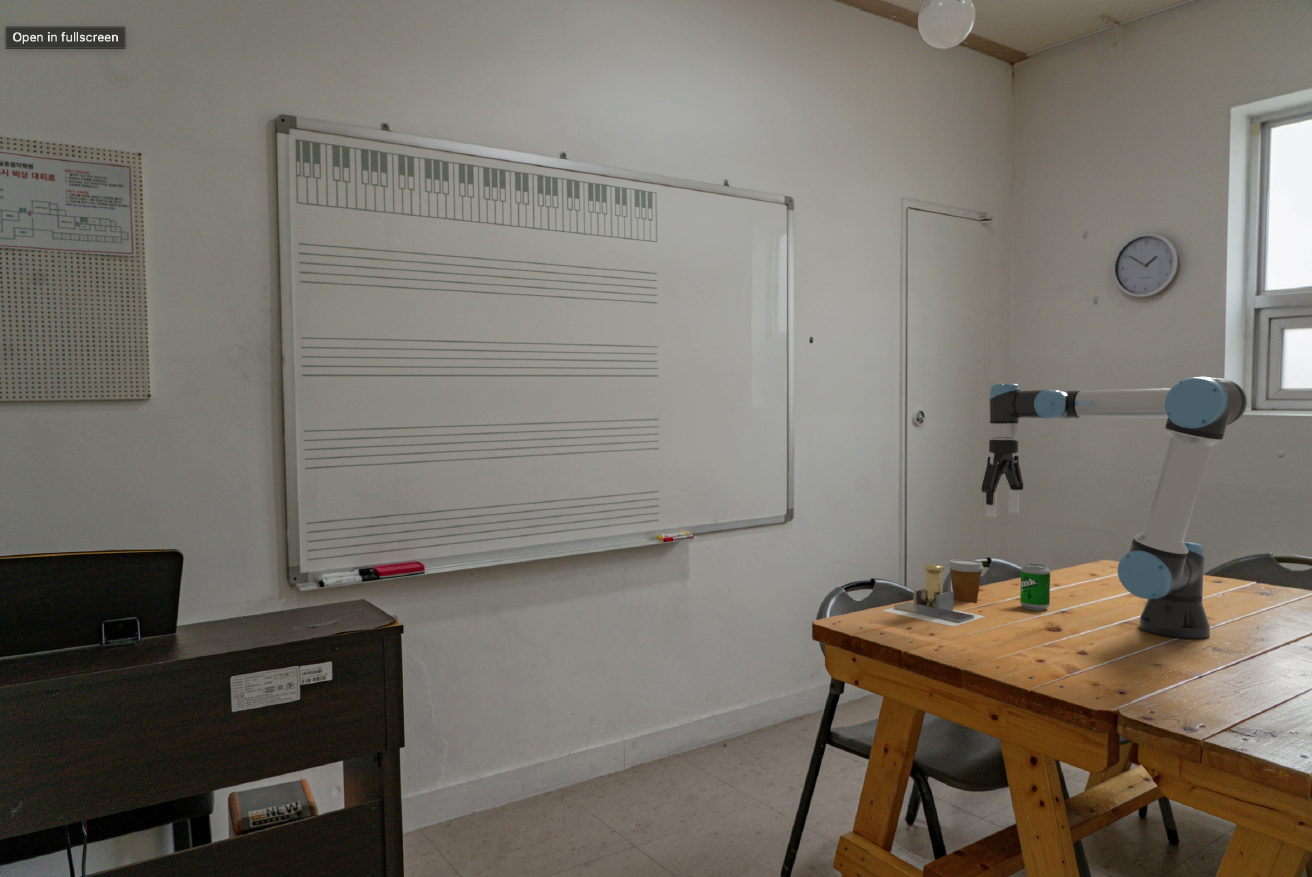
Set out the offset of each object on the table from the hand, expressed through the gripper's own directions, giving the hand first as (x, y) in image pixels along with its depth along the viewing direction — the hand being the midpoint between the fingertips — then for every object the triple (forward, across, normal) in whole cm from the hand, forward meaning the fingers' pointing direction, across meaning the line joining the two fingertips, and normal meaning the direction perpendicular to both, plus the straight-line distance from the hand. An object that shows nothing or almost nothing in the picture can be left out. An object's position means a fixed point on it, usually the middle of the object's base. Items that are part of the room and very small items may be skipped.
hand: (1002, 514), depth 232 cm
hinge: (+25, +25, -7) cm, 36 cm away
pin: (+25, +25, -7) cm, 36 cm away
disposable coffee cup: (+26, +2, -10) cm, 28 cm away
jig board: (+26, +25, -7) cm, 37 cm away
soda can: (+27, -8, +6) cm, 28 cm away
